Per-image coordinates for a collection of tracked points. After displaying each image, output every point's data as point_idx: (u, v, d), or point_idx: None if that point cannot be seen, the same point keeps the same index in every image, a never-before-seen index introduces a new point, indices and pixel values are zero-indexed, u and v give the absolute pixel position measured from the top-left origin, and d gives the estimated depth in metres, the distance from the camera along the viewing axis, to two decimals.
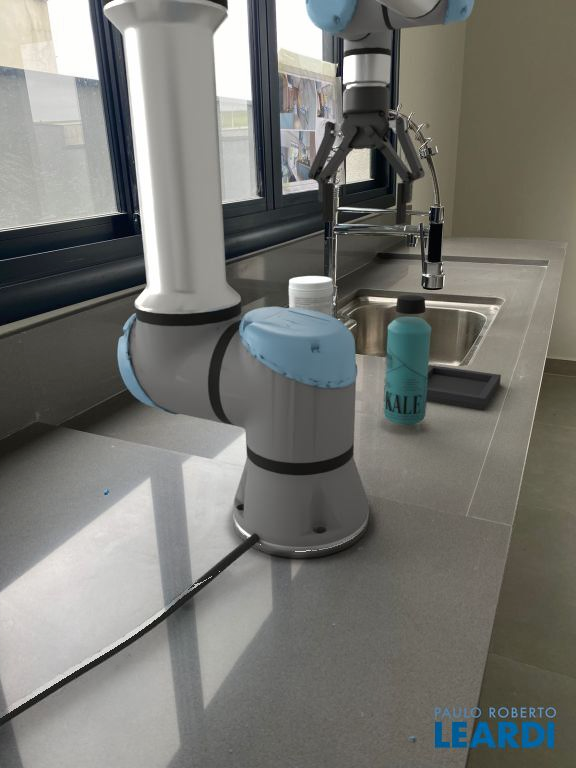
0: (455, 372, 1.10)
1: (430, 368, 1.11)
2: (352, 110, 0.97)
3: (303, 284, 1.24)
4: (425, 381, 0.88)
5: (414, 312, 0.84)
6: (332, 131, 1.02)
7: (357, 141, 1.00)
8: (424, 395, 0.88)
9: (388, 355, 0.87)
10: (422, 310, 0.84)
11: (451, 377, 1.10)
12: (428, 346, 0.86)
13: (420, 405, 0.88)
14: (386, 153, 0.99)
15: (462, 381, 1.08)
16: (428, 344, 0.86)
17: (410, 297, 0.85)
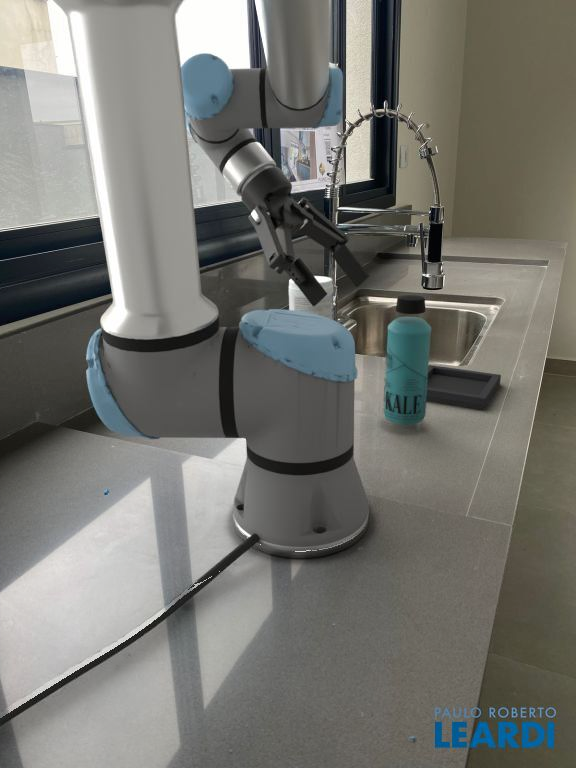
0: (455, 372, 1.10)
1: (430, 368, 1.11)
2: (283, 184, 0.89)
3: None
4: (425, 381, 0.88)
5: (414, 312, 0.84)
6: (268, 213, 0.87)
7: (291, 219, 0.91)
8: (424, 395, 0.88)
9: (388, 355, 0.87)
10: (422, 310, 0.84)
11: (451, 377, 1.10)
12: (428, 346, 0.86)
13: (420, 405, 0.88)
14: (317, 224, 0.94)
15: (462, 381, 1.08)
16: (428, 344, 0.86)
17: (410, 297, 0.85)
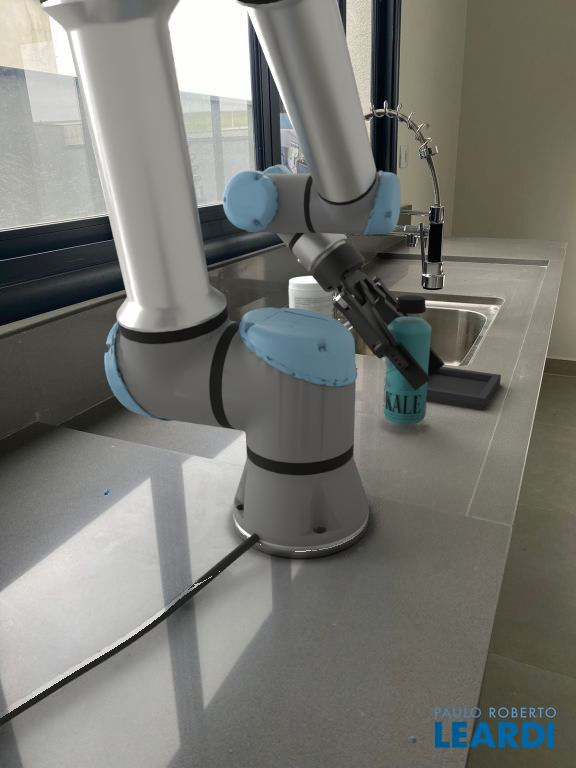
0: (455, 372, 1.10)
1: None
2: (358, 260, 0.86)
3: (303, 284, 1.24)
4: None
5: (414, 312, 0.84)
6: (352, 295, 0.84)
7: None
8: (424, 395, 0.88)
9: None
10: (422, 309, 0.84)
11: (451, 377, 1.10)
12: (428, 346, 0.86)
13: (420, 405, 0.88)
14: (389, 304, 0.90)
15: (462, 381, 1.08)
16: (428, 344, 0.86)
17: (410, 297, 0.85)
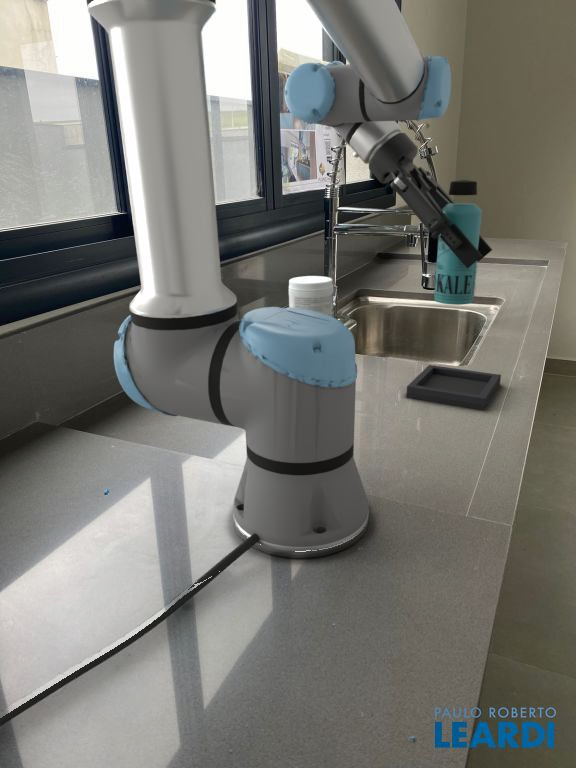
0: (455, 372, 1.10)
1: (430, 368, 1.11)
2: (413, 148, 0.92)
3: (303, 284, 1.24)
4: (475, 263, 0.94)
5: (467, 193, 0.90)
6: (409, 178, 0.90)
7: None
8: (474, 277, 0.94)
9: None
10: (474, 192, 0.90)
11: (451, 377, 1.10)
12: (479, 228, 0.92)
13: (470, 286, 0.94)
14: (440, 194, 0.96)
15: (462, 381, 1.08)
16: (479, 226, 0.92)
17: (463, 180, 0.91)
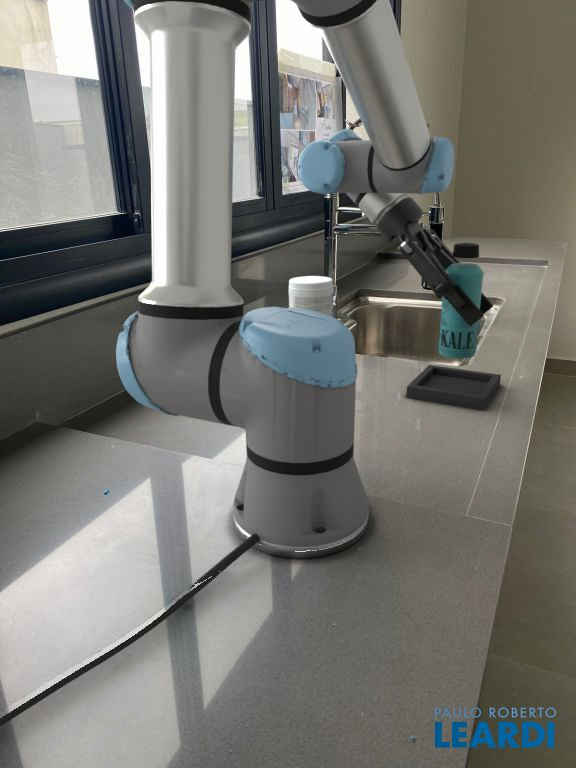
0: (455, 372, 1.10)
1: (430, 368, 1.11)
2: (419, 212, 0.98)
3: (303, 284, 1.24)
4: None
5: (470, 256, 0.95)
6: (415, 242, 0.96)
7: None
8: (476, 332, 1.00)
9: None
10: (477, 255, 0.96)
11: (451, 377, 1.10)
12: (481, 288, 0.98)
13: (472, 341, 1.00)
14: (444, 253, 1.02)
15: (462, 381, 1.08)
16: (481, 286, 0.98)
17: (466, 244, 0.96)
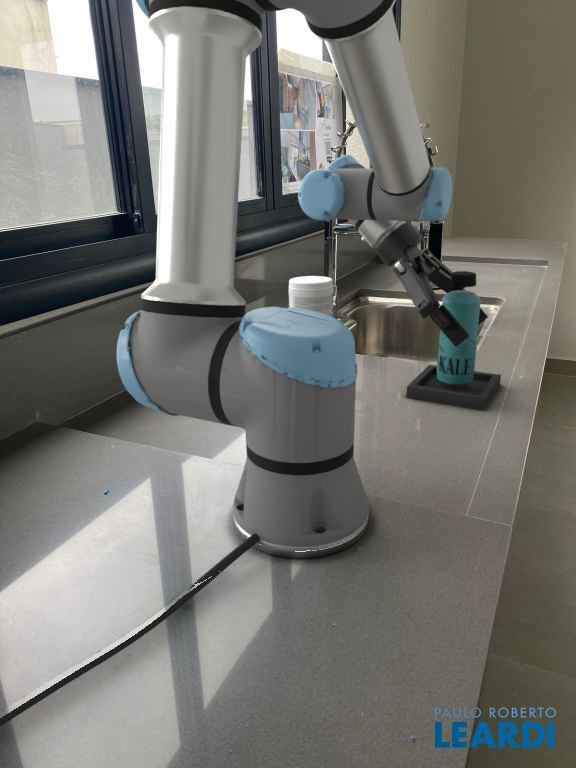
0: None
1: (430, 368, 1.11)
2: (418, 237, 0.99)
3: (303, 284, 1.24)
4: (475, 346, 1.01)
5: (467, 285, 0.97)
6: (410, 264, 0.97)
7: None
8: (473, 359, 1.02)
9: None
10: (474, 283, 0.97)
11: None
12: (478, 315, 0.99)
13: (470, 367, 1.01)
14: (442, 272, 1.04)
15: None
16: (478, 314, 0.99)
17: (463, 272, 0.98)
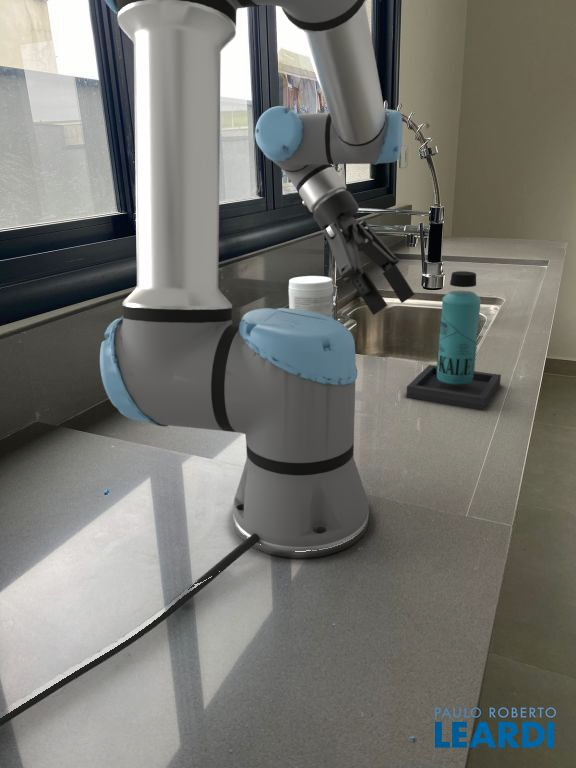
0: None
1: (430, 368, 1.11)
2: (353, 206, 1.03)
3: (303, 284, 1.24)
4: (475, 346, 1.01)
5: (467, 285, 0.97)
6: (341, 229, 1.00)
7: None
8: (473, 359, 1.02)
9: (443, 323, 1.01)
10: (474, 283, 0.97)
11: None
12: (478, 315, 0.99)
13: (470, 367, 1.01)
14: (375, 244, 1.08)
15: None
16: (478, 314, 0.99)
17: (463, 272, 0.98)
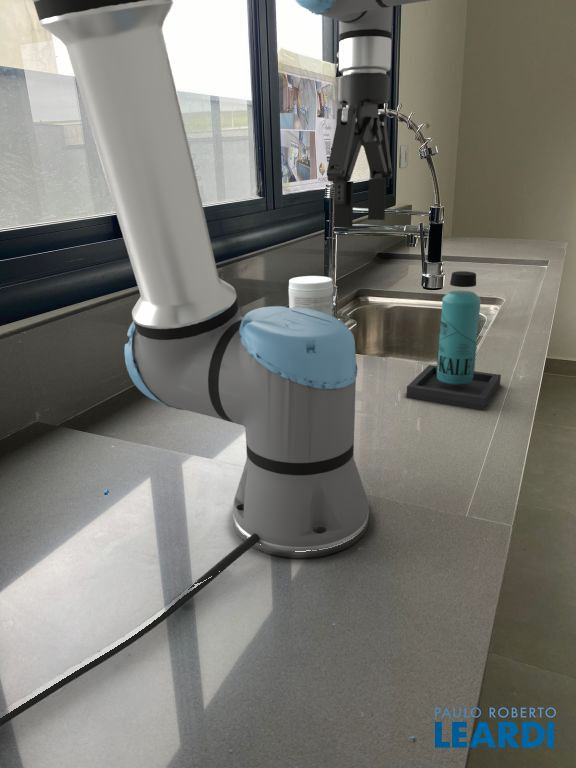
0: None
1: (430, 368, 1.11)
2: (384, 99, 0.88)
3: (303, 284, 1.24)
4: (475, 346, 1.01)
5: (467, 285, 0.97)
6: (356, 119, 0.86)
7: None
8: (473, 359, 1.02)
9: (443, 323, 1.01)
10: (474, 283, 0.97)
11: None
12: (478, 315, 0.99)
13: (470, 367, 1.01)
14: (379, 148, 0.95)
15: None
16: (478, 314, 0.99)
17: (463, 272, 0.98)
